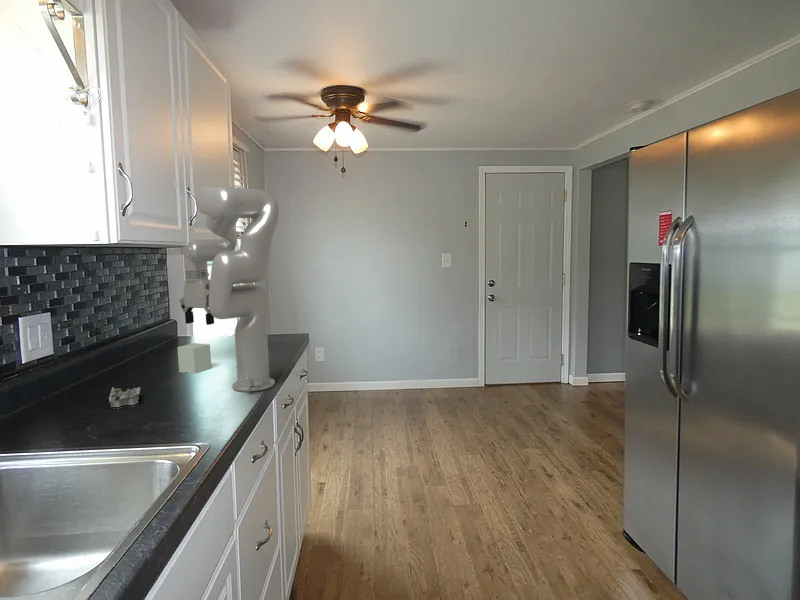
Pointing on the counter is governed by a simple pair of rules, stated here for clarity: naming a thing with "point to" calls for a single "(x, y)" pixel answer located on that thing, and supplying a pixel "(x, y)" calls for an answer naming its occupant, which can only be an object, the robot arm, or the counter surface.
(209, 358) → the pale green cube
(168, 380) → the counter surface
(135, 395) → the egg carton
